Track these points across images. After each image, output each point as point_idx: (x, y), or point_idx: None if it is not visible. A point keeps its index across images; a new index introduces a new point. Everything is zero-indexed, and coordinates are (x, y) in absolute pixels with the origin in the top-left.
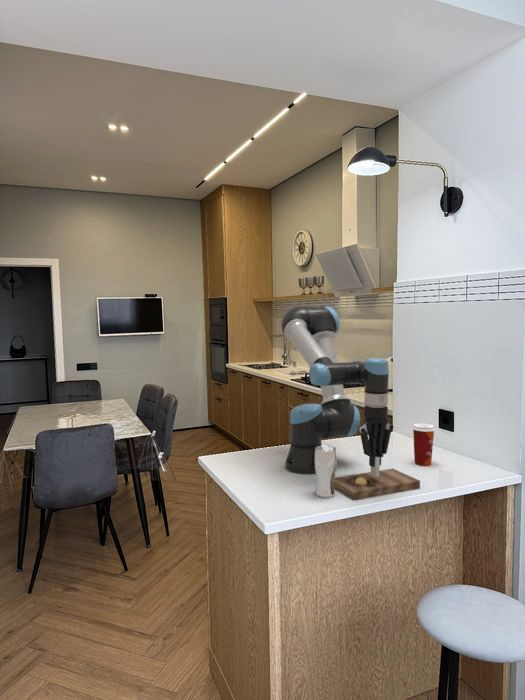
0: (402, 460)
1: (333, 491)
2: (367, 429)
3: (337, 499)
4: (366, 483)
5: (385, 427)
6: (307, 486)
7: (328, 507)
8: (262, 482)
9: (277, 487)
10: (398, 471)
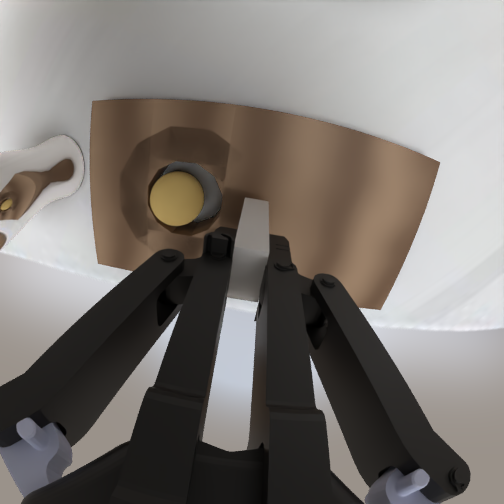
0: None
1: (66, 195)
2: (89, 468)
3: (74, 218)
4: (187, 223)
5: (377, 500)
6: (52, 80)
7: (43, 247)
8: (3, 27)
9: (4, 69)
10: (424, 202)
